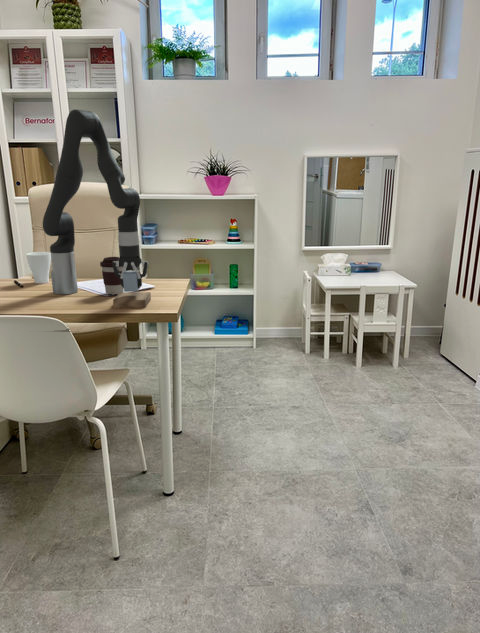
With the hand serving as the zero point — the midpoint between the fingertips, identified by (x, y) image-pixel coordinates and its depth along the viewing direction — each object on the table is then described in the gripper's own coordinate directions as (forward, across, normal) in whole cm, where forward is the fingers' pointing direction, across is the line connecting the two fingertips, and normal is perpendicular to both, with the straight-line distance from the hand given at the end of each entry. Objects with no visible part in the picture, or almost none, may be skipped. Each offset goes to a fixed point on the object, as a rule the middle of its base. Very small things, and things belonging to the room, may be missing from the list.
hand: (131, 287), depth 184 cm
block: (+1, 0, 0) cm, 1 cm away
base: (+6, 0, 0) cm, 6 cm away
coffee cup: (+6, -11, +17) cm, 21 cm away
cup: (+6, -50, +39) cm, 64 cm away
